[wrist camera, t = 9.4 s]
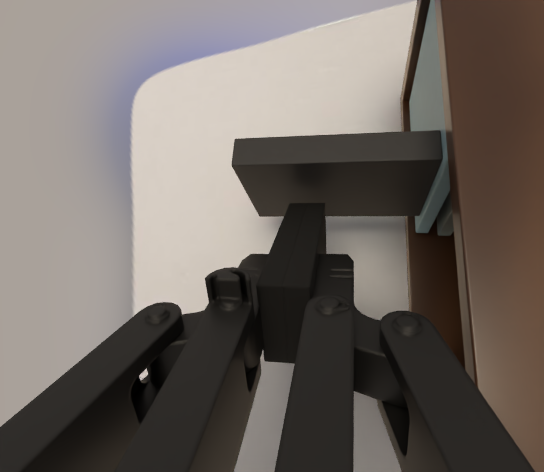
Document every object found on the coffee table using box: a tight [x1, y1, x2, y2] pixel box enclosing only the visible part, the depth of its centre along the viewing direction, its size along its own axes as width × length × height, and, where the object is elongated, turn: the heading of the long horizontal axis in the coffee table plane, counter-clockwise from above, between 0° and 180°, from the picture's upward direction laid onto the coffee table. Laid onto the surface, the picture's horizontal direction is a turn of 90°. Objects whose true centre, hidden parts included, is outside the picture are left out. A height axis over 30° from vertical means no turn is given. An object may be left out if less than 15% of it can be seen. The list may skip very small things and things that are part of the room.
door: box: [232, 0, 450, 233], centre depth 18 cm, size 8×8×8 cm
